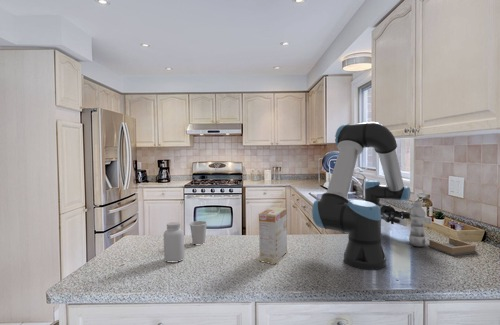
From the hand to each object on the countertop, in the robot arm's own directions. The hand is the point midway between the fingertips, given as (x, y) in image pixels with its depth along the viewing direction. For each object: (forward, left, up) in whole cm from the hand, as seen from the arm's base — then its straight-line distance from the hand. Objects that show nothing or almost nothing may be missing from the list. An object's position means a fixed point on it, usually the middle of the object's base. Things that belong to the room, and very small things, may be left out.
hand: (418, 222), depth 124 cm
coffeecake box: (-66, +6, -11) cm, 68 cm away
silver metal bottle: (0, 0, -11) cm, 11 cm away
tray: (+10, -8, -11) cm, 16 cm away
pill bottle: (-106, +15, -11) cm, 108 cm away
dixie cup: (-95, +33, -11) cm, 102 cm away
